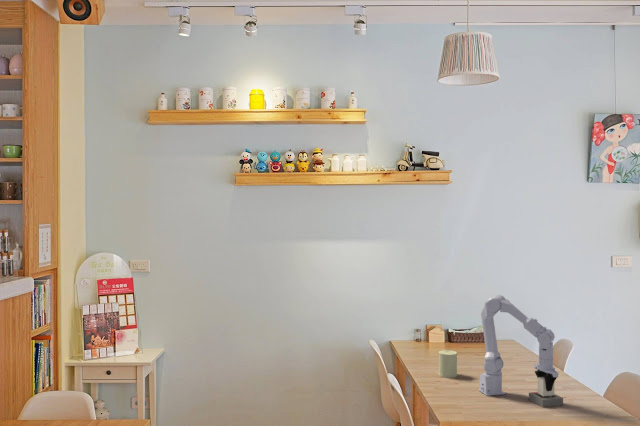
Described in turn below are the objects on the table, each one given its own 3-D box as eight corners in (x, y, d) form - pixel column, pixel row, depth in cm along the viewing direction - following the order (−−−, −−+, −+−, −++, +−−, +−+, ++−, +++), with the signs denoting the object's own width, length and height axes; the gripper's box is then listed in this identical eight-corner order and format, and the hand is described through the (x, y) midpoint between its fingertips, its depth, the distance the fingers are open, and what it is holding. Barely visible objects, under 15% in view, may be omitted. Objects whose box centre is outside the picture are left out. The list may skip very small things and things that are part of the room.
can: (454, 372, 305) (454, 349, 304) (459, 377, 295) (459, 353, 295) (436, 372, 304) (436, 349, 304) (440, 377, 295) (440, 353, 295)
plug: (554, 397, 258) (554, 379, 258) (543, 399, 257) (543, 380, 257) (548, 395, 262) (548, 376, 262) (537, 396, 261) (537, 377, 260)
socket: (563, 405, 256) (563, 397, 256) (542, 407, 253) (542, 399, 253) (548, 397, 265) (548, 390, 265) (528, 399, 263) (528, 392, 263)
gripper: (564, 361, 253) (564, 393, 253) (543, 353, 267) (543, 383, 267) (550, 362, 251) (549, 395, 251) (529, 354, 265) (529, 384, 266)
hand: (545, 389), depth 259 cm, fingers closed on plug, 4 cm apart
